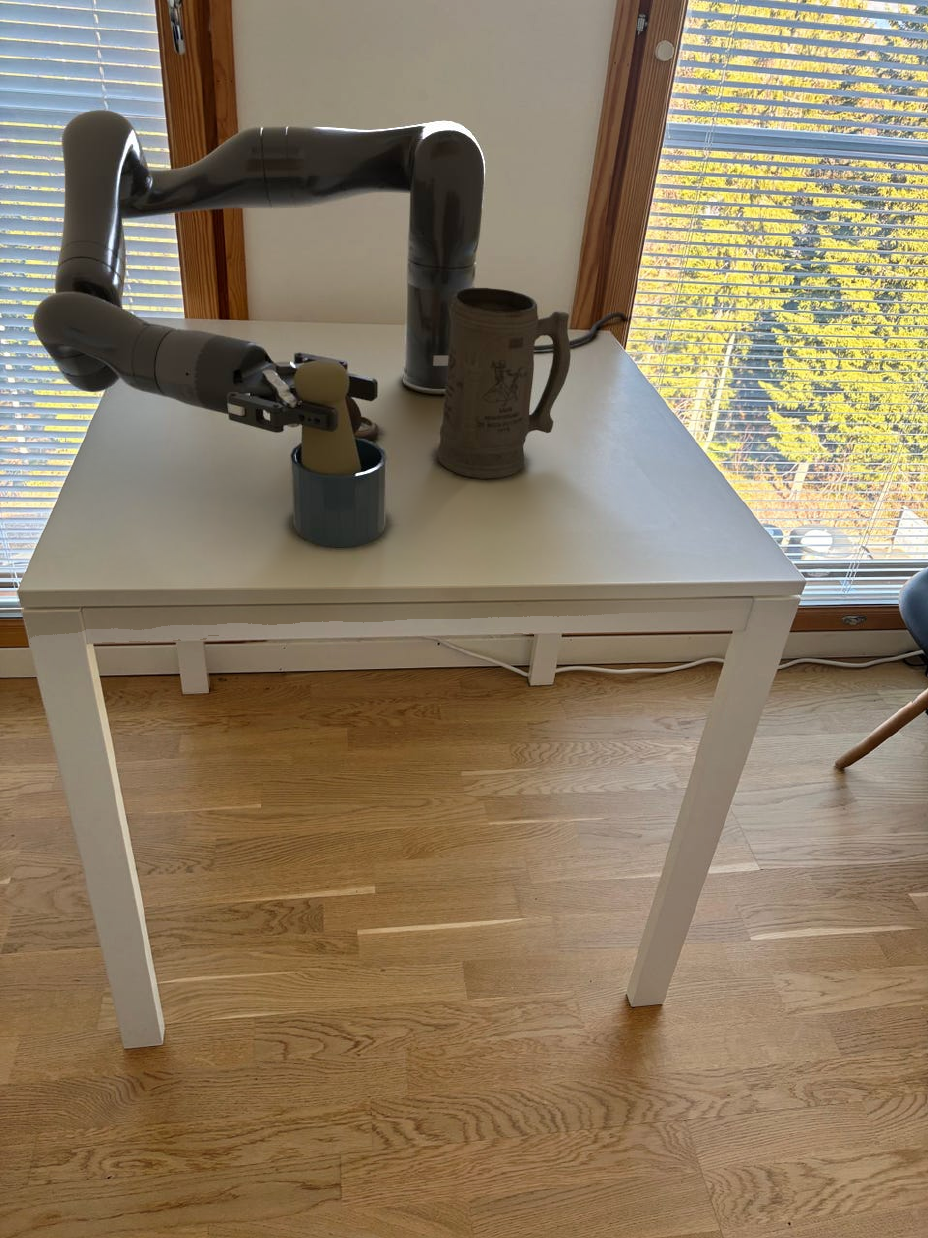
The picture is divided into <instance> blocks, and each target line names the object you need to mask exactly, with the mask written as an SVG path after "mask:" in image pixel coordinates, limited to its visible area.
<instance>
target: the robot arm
mask: <svg viewBox="0 0 928 1238" xmlns="http://www.w3.org/2000/svg"><path fill="white" fill-rule="evenodd" d="M61 147H62V148H61V149H62V157H63V168H64V208H63V209H64V210H63V212H64V213H63V224H62V225H63V227H62V234H61V235H62V236H61V243H60V250H59V254H58V259H57V266H56V270H55V271H56V272H55V277H54V278H55V279H54V292H55V293H54V294H53V293H52V294H50V295H49V296H46V297H45V298H44V299H43V300H41V301H40V302H39V304H38V305H37V306H36V308H35V310H34V313H33V317H32V324H33V329H34V333H35V335H36V337H37V338H38V340H39V342H40V343H41V345H42V346H43V349H45V351H46V352H47V353H48V355H49V357H50V358H51V360H52V361H53V363H54V365H55V366H56V367H57V369H58V371H59V372H60V373H61V375H62V376H63V377H64V379H65V380H66V381H67V382H68V383H69V384H70V385H72V386H73V387H74V388H75V389H78V390H80V391H83V392H87V393H99V392H102V391H105V390H107V389H109V388H111V387H113V386H114V385H115V384H116V383H117V382H118V381H119V380H121V381H122V383H124V384H125V385H128V386H129V387H130V388H132V389H134V390H136V391H137V390H138V391H141V392H145V393H149V394H152V395H157V396H161V397H165V398H170V399H173V400H175V401H178V402H180V403H183V404H185V405H189V406H192V407H197V408H201V409H205V410H209V411H212V412H217V413H221V414H224V415H225V414H226V415H228V420H230V421H232V422H235V423H238V424H243V425H246V426H248V427H249V426H250V427H252V428H253V427H254V428H256V429H259V430H260V429H261V430H264V431H268V432H271V433H276V434H278V433H282V432H284V430H285V426H287V427H289V428H297V427H299V426H302V425H303V426H307V427H312V428H316V429H320V430H324V431H328V432H333V431H334V430H336V429H337V428H338V411H337V410H336V409H335V408H334V407H329V406H325V405H321V404H316V403H312V402H308V401H302V399H301V398H300V397H299V396H298V394H297V391H296V389H295V385H294V376H295V373H296V371H297V369H298V368H299V367H300V366H302V365H303V364H305V363H307V362H311V361H316V360H330V361H335V362H337V363H339V364H341V365H343V367H344V368H345V369H346V371H347V374H348V376H349V389H348V392H347V394H346V396H349V397H351V398H352V399H353V398H355V399H358V400H362V401H367V402H374V401H375V400H377V398H378V393H379V390H378V388H379V387H378V386H379V384H378V383H379V382H378V381H377V379H375V378H374V377H370V376H365V375H359V374H356V373H351V372H348V368H349V365H348V361H346V360H342V359H337V358H331V357H326V356H321V355H315V354H310V353H305V352H295V353H294V354H293V362H291V361H289V360H288V361H277V362H274V361H273V360H272V358H271V357H270V356H269V354H268V352H267V350H266V349H265V347H263V346H262V345H261V344H260V343H257V342H253V341H250V340H244V339H240V338H235V337H231V336H226V335H222V334H216V333H211V332H208V331H202V330H195V329H182V328H176V327H172V326H168V325H163V324H157V323H153V322H148V321H146V320H144V319H142V318H140V317H139V316H137V315H135V314H134V313H132V312H130V311H128V310H126V309H124V308H123V295H124V288H125V279H126V270H127V268H126V267H127V249H126V239H125V233H124V232H125V231H124V225H123V220H131V219H140V218H149V217H150V218H151V217H157V216H164V215H173V214H178V213H186V212H195V211H198V212H199V211H209V210H230V209H231V210H233V209H297V208H308V207H316V206H322V205H326V204H331V203H335V202H336V203H337V202H340V201H343V200H347V199H350V198H355V197H359V196H363V195H369V194H378V193H392V194H393V193H394V194H395V193H398V194H409V215H408V217H409V218H408V235H407V258H406V259H407V260H406V289H405V290H406V292H405V293H406V295H405V296H406V297H405V323H404V325H405V326H404V328H405V329H404V357H403V358H404V361H403V362H404V363H403V364H404V365H403V375H402V383H403V385H405V386H406V387H407V388H409V389H411V390H413V391H414V392H415V391H416V392H419V393H423V394H429V395H445V387H446V378H447V368H448V357H449V346H450V333H451V319H450V316H449V308H450V306H451V302H452V297H453V295H454V294H455V292H457V291H459V290H462V289H467V288H475V281H476V280H475V279H476V268H477V267H476V265H477V256H478V247H479V243H480V237H481V227H482V217H483V207H484V205H483V204H484V196H485V195H484V193H485V180H486V179H485V178H486V167H485V158H484V155H483V151H482V150H481V148H480V145H479V144H478V142H477V140H476V138H475V137H474V135H472V133H471V131H469V130H468V129H467V128H465V127H464V126H463V125H461V124H459V123H456V122H453V121H447V120H441V121H434V122H428V123H427V122H426V123H422V124H416V125H409V126H404V127H403V126H401V127H394V128H393V127H392V128H386V129H372V130H369V129H367V130H366V129H365V130H364V129H353V128H352V129H351V128H340V127H339V128H338V127H323V126H297V125H296V126H294V125H293V126H290V125H289V126H288V125H287V126H284V125H283V126H281V125H280V126H255V127H254V126H253V127H249V128H246V129H243V130H241V131H239V132H237V133H236V134H234V135H232V136H231V137H230V138H228V139H227V140H225V141H224V142H222V144H220V145H218V146H217V147H216V148H215V149H213V150H212V151H211V152H210V153H208V154H207V155H206V156H204V157H203V158H201V159H200V160H198V161H196V162H194V163H193V164H190V165H188V166H184V167H179V168H172V169H165V170H151V169H149V166H148V162H147V159H146V156H145V153H144V149H143V146H142V143H141V140H140V137H139V136H138V133H137V131H136V129H135V127H134V126H133V124H132V123H131V122H130V121H129V120H128V119H127V118H126V117H125V116H123V115H122V114H120V113H119V112H115V111H113V110H108V109H107V110H106V109H96V110H95V109H93V110H89V111H84V112H83V113H80V114H78V115H76V116H75V117H73V118H72V119H71V120H69V122H68V123H67V124H66V126H65V127H64V129H63V132H62V135H61ZM614 318H620V319H621V320H622V321H628V318H627V316H626V315H625V313H623V312H620V311H616V312H612V313H609V314H608V315H606V316H604V317H603V318H601V319H600V320H597V321H596V322H595V323H594V324H593V325H592V326H591V328H590V331H589V332H588V333H587V334H584V335H582V336H580V337H578V338H574V339H572V340H569V343H570V347H571V346H575V345H578V344H581V343H583V342H586V341H587V340H589V339H591V338H592V337H593V336H594V335H595V333H596V331H597V329H598V328H599V327H600V326H602V325H604V324H605V323H608V322H609V321H610V320H612V319H614ZM548 350H553V343H549V344H536V345H535V344H534V351H548ZM264 411H265V412H266V414H268V415H269V419H266V418H265V416H264Z"/></svg>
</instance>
